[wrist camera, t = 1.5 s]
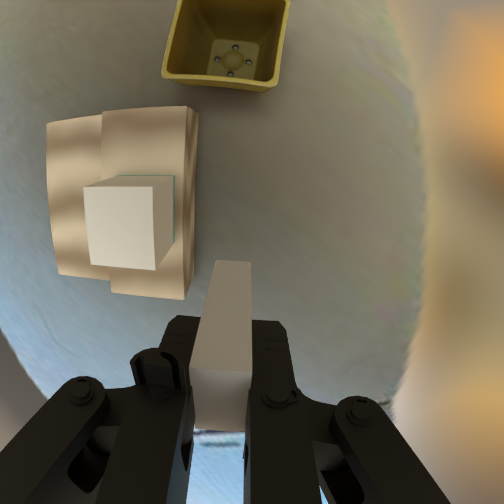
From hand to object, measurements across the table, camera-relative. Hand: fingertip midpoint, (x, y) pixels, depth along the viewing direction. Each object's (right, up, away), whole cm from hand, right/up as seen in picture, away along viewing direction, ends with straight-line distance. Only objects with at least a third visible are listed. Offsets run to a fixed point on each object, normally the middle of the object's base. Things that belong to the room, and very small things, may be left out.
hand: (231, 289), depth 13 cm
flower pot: (-1, +21, +12) cm, 24 cm away
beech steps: (-14, +8, +17) cm, 23 cm away
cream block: (-9, +5, +11) cm, 15 cm away
